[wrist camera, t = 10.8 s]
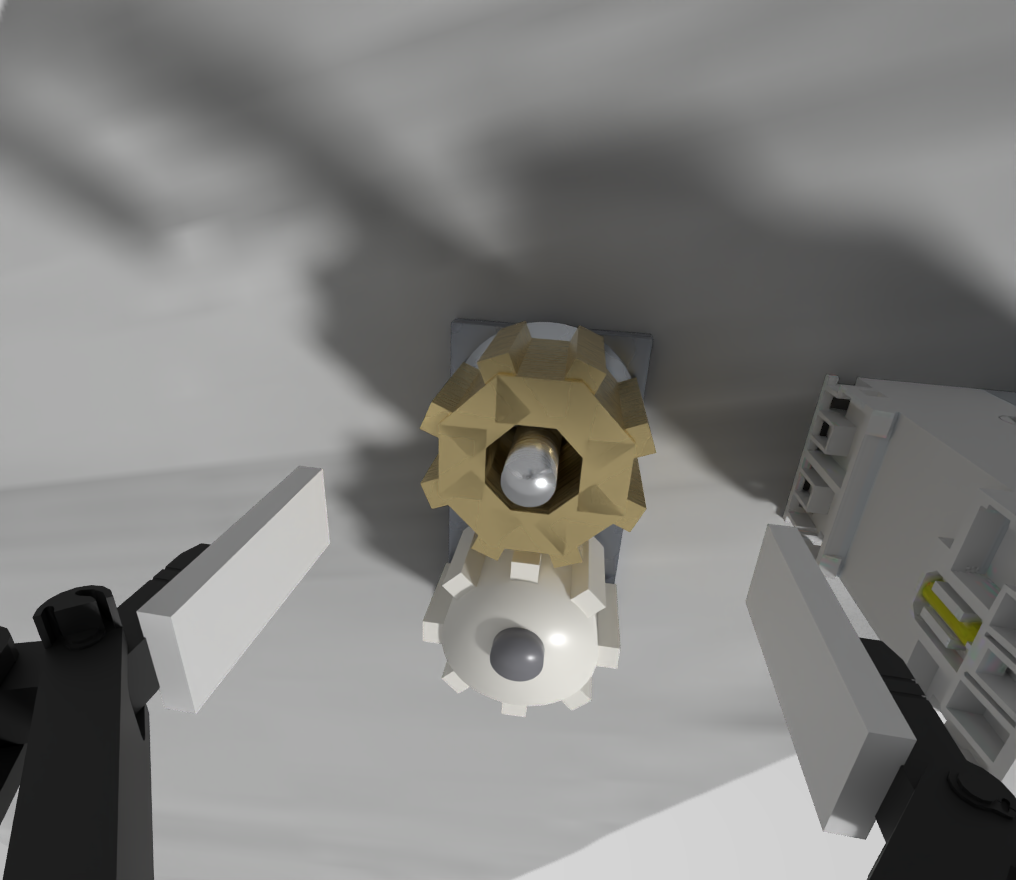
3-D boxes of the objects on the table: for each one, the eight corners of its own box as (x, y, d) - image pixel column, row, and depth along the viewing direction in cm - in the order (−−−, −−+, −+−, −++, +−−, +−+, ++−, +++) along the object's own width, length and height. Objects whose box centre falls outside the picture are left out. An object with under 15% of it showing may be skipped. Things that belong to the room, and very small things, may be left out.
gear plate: (652, 325, 25) (676, 376, 18) (603, 640, 33) (606, 767, 25) (456, 309, 26) (403, 352, 19) (451, 619, 33) (413, 736, 26)
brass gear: (653, 329, 24) (671, 368, 19) (626, 506, 28) (634, 581, 22) (454, 314, 25) (417, 346, 20) (452, 486, 29) (419, 554, 23)
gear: (626, 517, 28) (634, 592, 23) (604, 656, 31) (606, 748, 26) (447, 496, 29) (415, 563, 23) (446, 634, 32) (418, 718, 27)
